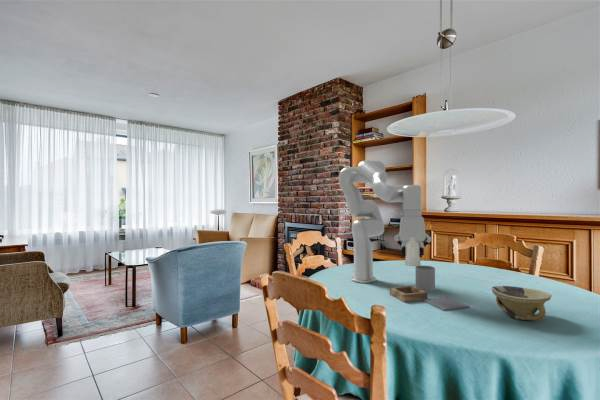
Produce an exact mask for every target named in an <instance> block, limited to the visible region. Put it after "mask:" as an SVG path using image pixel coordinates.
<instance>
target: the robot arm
mask: <svg viewBox="0 0 600 400" xmlns="http://www.w3.org/2000/svg"><path fill="white" fill-rule="evenodd" d="M386 168H387V167H386V165H385V164H384V163H383V162H382V161H381V160H373V159H372V160H370V159H366V160H362V161H360V162H359V163H358V165H357V167H355V166H348V167H344V168H342V169H341V170H340V172H339V175H338V184H339V186H340V189H341V191H342V192H343V195H344V198H345V202H346V204H347V205H346V206H347V209H348V211H349V215H350V216H351V217H352V218H355V220H354V221H353V222H352V223H351V234H352V238H353V239H352V240H353V275H352V276H351V278H350V279H351V281H352V282H355V283H361V284H368V283H369V284H370V283H374V282H376V281H377V277H376V276H374V264H373V263H374V259H373V258H374V257H373V256H374V254H373V253H374V252H373V250H374V249H373V243H372V241H371V239H370V238H372V237H379V236H381V235H383V234H384V232H385V224H384V221H383V217H382V215H381V211H380V209H379V205H378V204H377V202H375V201H374V200H372V199H364V198H363V197H362V193H361V191H360V189H359V188H358V186H356V185H355V184H367V183H369V184H371V188H372V191H373V193H374V195H375V196H376V197H377V198H379V199H380V200H382V201H383V202H386V203H402V210H401V211H400V210H399V212H398V213H399V215H400V216H402V217H400V222H399V232H397V234H396V235H394V237H393V240H394V241H395V242H396V243H397V244H398V245H399V246H400V247H401V255H403V257H404V258H405V242H406V241H410V237H415V241H417V242H419V243H420V259H421V258H423V256H424V255H425V249H424V248H425V247H426V246H427V245H428V244H430V243H431V242H432V241H433V238H432V237H431V236H430V235H429V234H428V233H426V225H425V219H424V217H423V216H422V187H421V185H419V184H406V185H404V184H403V185H399V184H396V185H395V184H388V183H386V182H387V181H388V174H387V172H386V170H387V169H386ZM356 218H357V219H356ZM426 239H427V240H426ZM425 240H426V241H425Z"/></svg>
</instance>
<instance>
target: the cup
mask: <svg viewBox="0 0 600 400" xmlns="http://www.w3.org/2000/svg"><path fill="white" fill-rule="evenodd" d="M415 287H416V288H418V289H420V290H423V291H425V292H427V293H428V292H429V293H431V292H435V291H436V268H435V267H434V266H430V265H420V266H415Z"/></svg>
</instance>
